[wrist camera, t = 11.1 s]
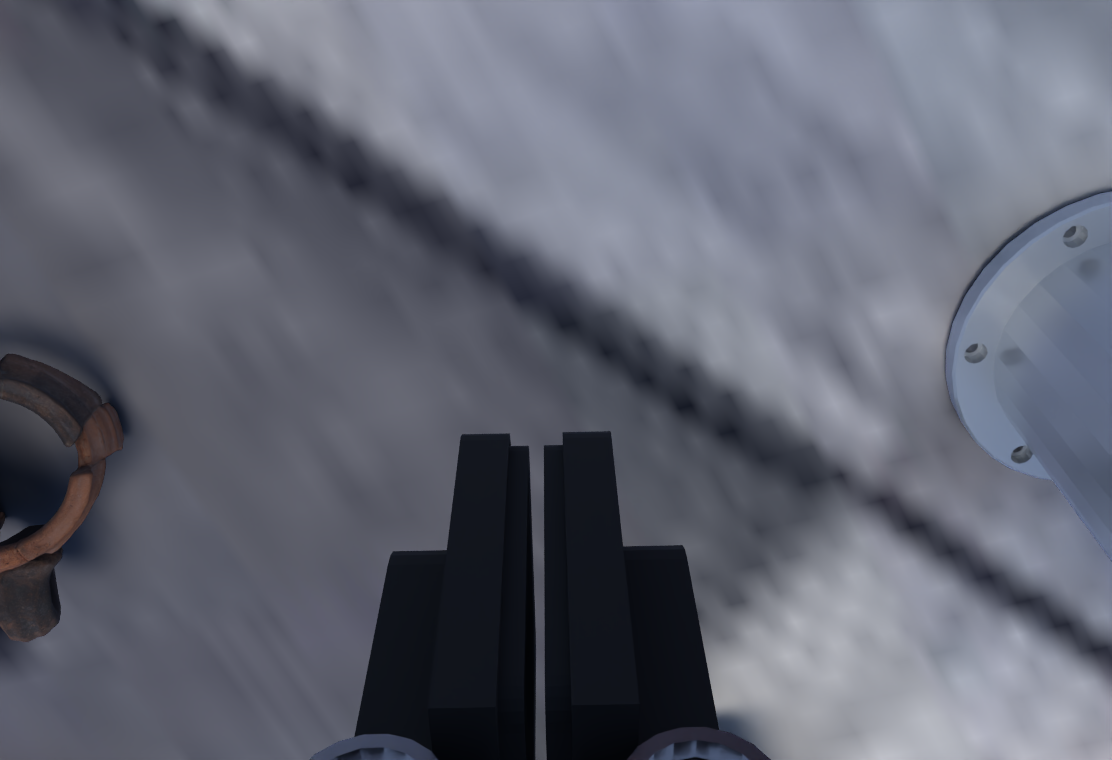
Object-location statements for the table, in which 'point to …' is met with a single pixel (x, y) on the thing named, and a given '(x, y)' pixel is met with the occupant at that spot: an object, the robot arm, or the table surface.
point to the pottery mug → (30, 556)
